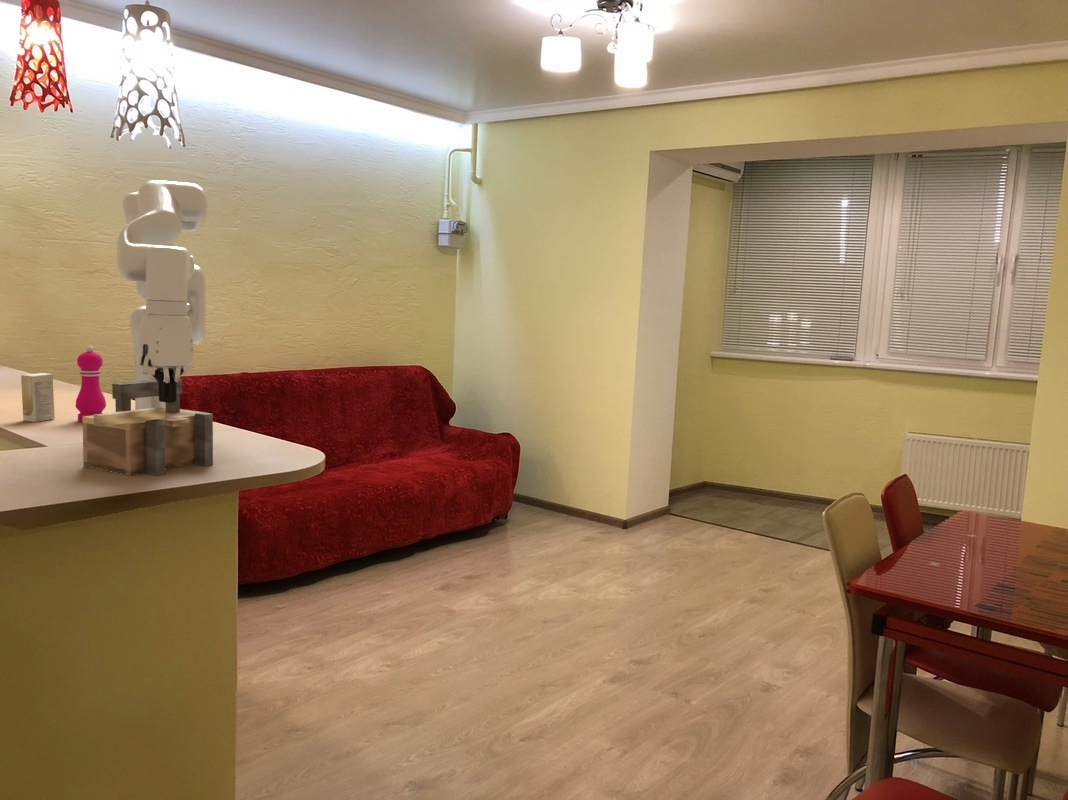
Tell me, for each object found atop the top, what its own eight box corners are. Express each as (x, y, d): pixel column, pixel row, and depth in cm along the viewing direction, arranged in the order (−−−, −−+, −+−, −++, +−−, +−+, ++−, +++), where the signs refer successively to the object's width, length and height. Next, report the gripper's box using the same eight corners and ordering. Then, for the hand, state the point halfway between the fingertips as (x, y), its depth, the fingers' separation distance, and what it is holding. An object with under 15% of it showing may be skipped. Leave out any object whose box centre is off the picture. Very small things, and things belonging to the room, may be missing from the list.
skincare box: (43, 417, 229) (42, 372, 227) (55, 419, 227) (54, 373, 226) (21, 420, 223) (19, 374, 222) (33, 422, 221) (31, 375, 220)
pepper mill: (112, 419, 231) (110, 345, 229) (95, 423, 224) (94, 347, 221) (86, 418, 232) (85, 344, 229) (69, 421, 225) (68, 345, 222)
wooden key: (158, 417, 170) (157, 407, 170) (165, 418, 169) (164, 408, 169) (93, 425, 157) (93, 414, 157) (101, 426, 157) (100, 415, 156)
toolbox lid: (165, 412, 190) (165, 375, 189) (219, 420, 182) (219, 382, 181) (82, 422, 172) (81, 382, 171) (138, 431, 165) (137, 389, 164)
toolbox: (166, 452, 191) (165, 404, 190) (223, 462, 183) (223, 412, 182) (83, 466, 173) (82, 413, 172) (143, 478, 165) (143, 423, 164)
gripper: (184, 308, 177) (184, 396, 179) (120, 308, 163) (122, 403, 166) (210, 310, 173) (210, 400, 176) (147, 311, 160) (148, 408, 163)
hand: (167, 401), depth 171 cm, fingers closed
